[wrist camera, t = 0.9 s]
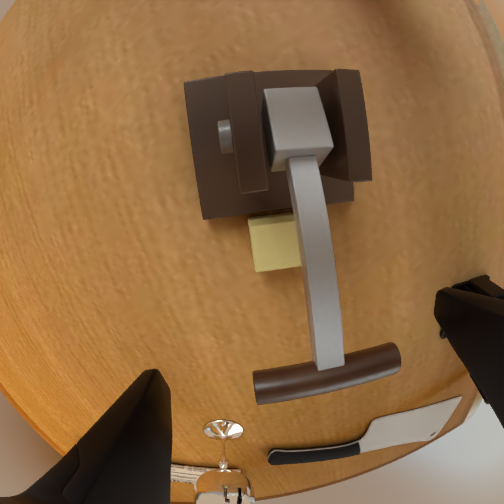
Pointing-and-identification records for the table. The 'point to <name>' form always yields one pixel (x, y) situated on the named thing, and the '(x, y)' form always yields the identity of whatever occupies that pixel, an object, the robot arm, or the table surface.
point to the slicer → (253, 142)
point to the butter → (274, 242)
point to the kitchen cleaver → (377, 435)
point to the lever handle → (313, 255)
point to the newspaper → (189, 473)
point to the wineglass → (223, 472)
